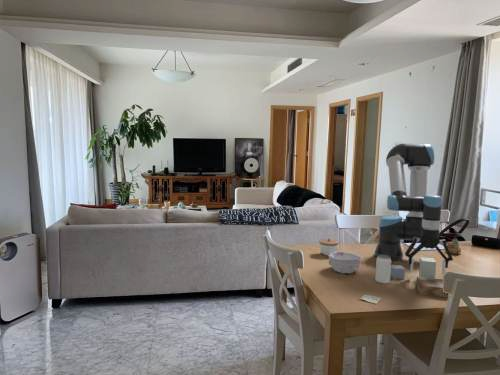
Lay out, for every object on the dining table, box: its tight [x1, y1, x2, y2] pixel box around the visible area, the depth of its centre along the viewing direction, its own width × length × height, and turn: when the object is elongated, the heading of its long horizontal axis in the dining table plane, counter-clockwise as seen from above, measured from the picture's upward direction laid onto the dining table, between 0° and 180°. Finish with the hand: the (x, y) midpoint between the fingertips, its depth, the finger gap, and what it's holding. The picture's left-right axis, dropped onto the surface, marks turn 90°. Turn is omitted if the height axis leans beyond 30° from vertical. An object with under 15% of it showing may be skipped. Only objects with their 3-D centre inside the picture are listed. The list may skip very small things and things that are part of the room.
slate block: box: [390, 264, 406, 280], centre depth 178 cm, size 5×5×5 cm
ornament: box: [444, 236, 462, 255], centre depth 219 cm, size 8×6×10 cm
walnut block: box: [415, 276, 450, 298], centre depth 161 cm, size 11×11×4 cm
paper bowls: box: [328, 251, 361, 274], centre depth 185 cm, size 15×15×8 cm
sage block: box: [418, 256, 437, 279], centre depth 174 cm, size 6×6×10 cm
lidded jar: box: [318, 238, 339, 256], centre depth 212 cm, size 11×11×9 cm
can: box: [374, 255, 392, 285], centre depth 171 cm, size 6×6×12 cm
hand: (427, 272), depth 174 cm, fingers open, 13 cm apart
